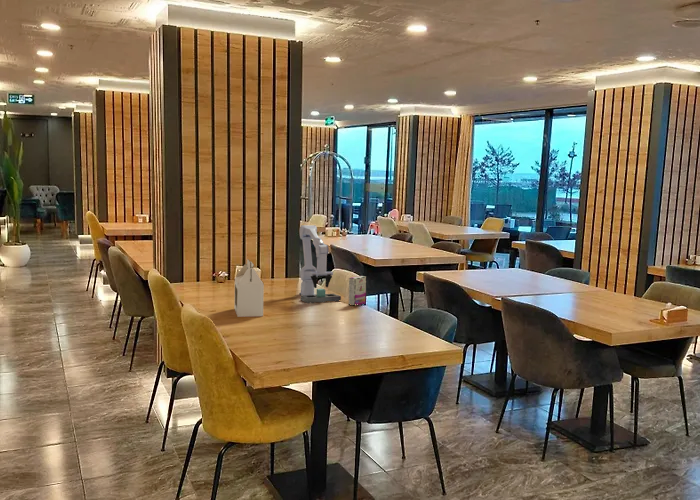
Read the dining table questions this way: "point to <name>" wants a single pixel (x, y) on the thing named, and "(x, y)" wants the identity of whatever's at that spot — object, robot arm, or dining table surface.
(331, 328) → the dining table surface
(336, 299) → the rail
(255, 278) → the gable box
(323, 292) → the square peg
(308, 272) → the robot arm
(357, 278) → the candy bar box
